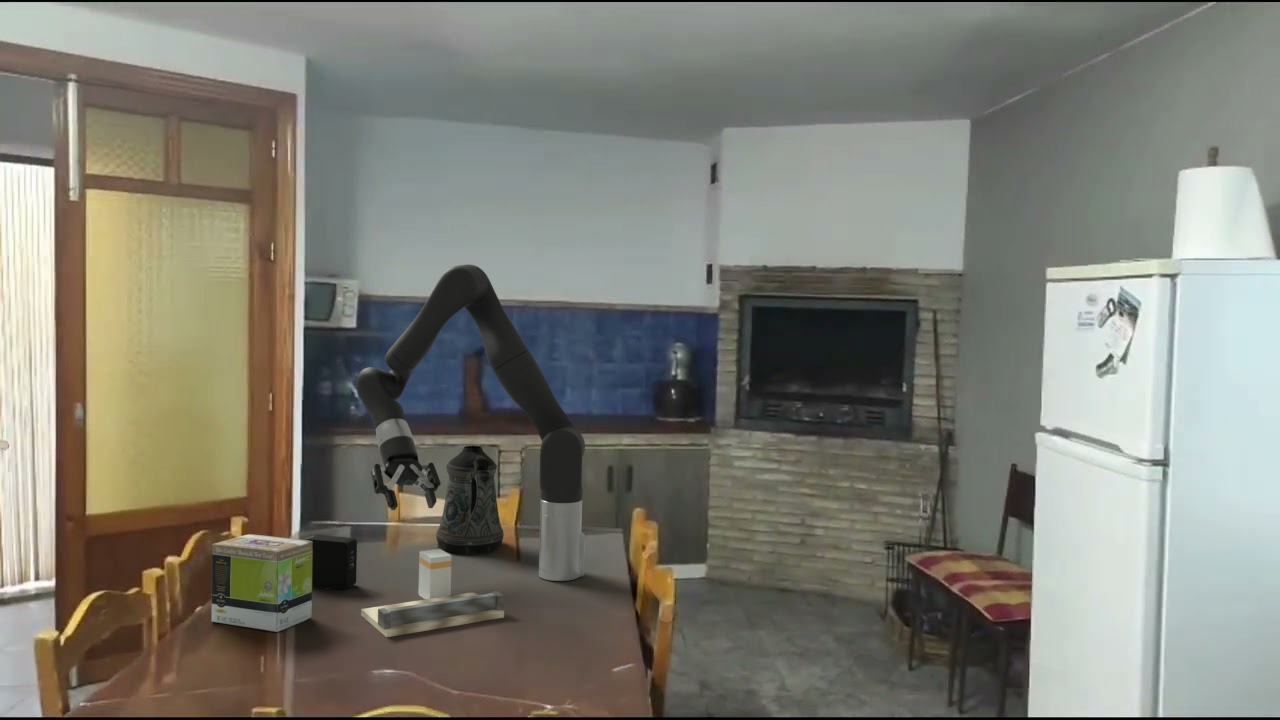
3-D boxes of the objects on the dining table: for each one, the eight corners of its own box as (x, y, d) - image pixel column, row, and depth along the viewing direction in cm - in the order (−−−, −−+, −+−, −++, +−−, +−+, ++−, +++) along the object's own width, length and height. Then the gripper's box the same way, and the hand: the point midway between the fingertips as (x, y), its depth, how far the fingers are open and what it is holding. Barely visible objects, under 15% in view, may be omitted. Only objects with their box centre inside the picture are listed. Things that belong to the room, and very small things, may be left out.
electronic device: (346, 590, 193) (347, 542, 192) (302, 586, 195) (303, 538, 194) (356, 585, 197) (357, 538, 197) (313, 581, 199) (314, 534, 199)
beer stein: (470, 535, 244) (473, 440, 243) (525, 548, 233) (528, 448, 232) (421, 547, 231) (423, 446, 230) (477, 561, 219) (480, 454, 218)
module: (438, 591, 195) (439, 548, 194) (450, 599, 189) (451, 555, 189) (417, 594, 192) (418, 550, 192) (429, 602, 187) (430, 557, 186)
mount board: (474, 597, 191) (474, 578, 191) (504, 617, 179) (505, 596, 179) (359, 615, 177) (360, 594, 177) (385, 637, 166) (385, 615, 166)
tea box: (313, 617, 175) (315, 539, 175) (276, 634, 166) (277, 551, 165) (248, 607, 180) (249, 531, 180) (208, 622, 171) (210, 542, 170)
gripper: (371, 434, 200) (388, 499, 192) (432, 434, 209) (451, 496, 201) (359, 454, 205) (375, 518, 196) (419, 453, 214) (437, 514, 205)
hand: (413, 507), depth 199 cm, fingers open, 8 cm apart
